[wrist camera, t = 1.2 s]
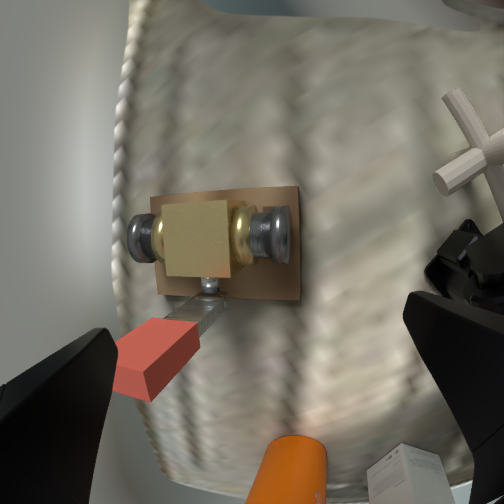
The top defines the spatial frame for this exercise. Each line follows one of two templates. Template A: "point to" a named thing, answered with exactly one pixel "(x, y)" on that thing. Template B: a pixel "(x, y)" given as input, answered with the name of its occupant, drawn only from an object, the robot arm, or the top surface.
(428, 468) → the skincare box
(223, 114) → the top surface
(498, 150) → the pipe connector
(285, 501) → the shaker bottle
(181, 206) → the valve stand
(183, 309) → the valve lever
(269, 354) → the top surface
